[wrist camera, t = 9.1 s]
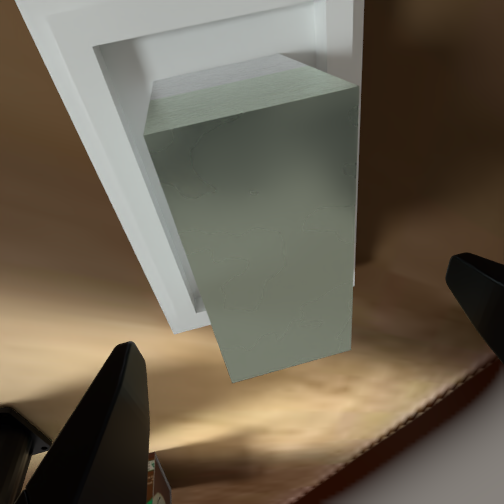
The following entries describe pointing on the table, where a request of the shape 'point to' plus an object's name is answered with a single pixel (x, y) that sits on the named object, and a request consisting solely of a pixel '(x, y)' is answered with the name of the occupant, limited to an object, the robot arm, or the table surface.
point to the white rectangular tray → (164, 66)
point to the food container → (157, 482)
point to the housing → (263, 204)
